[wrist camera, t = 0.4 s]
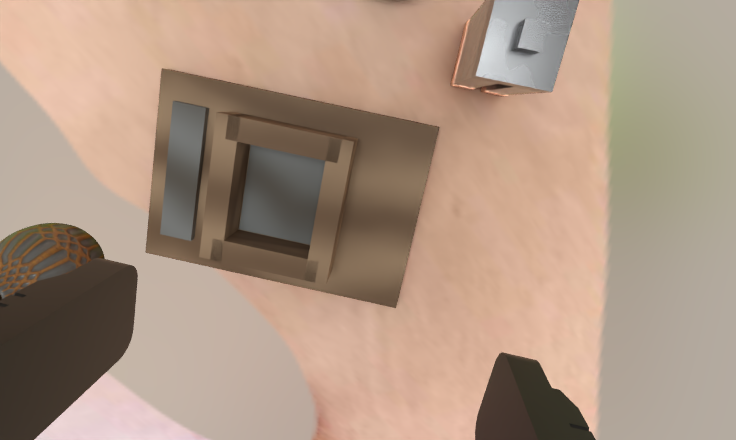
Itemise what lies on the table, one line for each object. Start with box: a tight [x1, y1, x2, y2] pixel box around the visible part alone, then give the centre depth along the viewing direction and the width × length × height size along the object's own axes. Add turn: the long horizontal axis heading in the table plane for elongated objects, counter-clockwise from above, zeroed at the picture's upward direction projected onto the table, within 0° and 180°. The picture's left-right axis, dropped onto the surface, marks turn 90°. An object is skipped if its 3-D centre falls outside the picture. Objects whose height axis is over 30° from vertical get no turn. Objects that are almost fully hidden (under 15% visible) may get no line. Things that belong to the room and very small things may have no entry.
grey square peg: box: [450, 0, 579, 96], centre depth 26 cm, size 4×4×13 cm
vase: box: [0, 223, 104, 300], centre depth 34 cm, size 7×7×9 cm
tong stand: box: [146, 69, 439, 308], centre depth 34 cm, size 14×20×4 cm
